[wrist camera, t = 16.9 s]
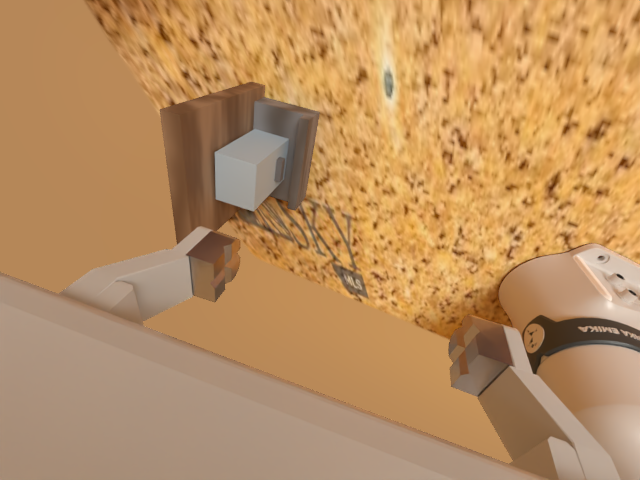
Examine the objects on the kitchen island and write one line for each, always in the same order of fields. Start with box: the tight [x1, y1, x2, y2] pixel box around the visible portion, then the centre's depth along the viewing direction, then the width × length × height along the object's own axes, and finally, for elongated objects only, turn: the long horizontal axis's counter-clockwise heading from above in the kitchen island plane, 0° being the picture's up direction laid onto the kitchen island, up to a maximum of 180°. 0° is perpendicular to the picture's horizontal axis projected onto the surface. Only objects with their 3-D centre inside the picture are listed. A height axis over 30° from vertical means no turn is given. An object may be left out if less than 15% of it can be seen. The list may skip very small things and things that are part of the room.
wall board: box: [160, 82, 320, 244], centre depth 38 cm, size 10×16×18 cm, turn 169°
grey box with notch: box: [215, 129, 289, 211], centre depth 39 cm, size 6×6×10 cm
